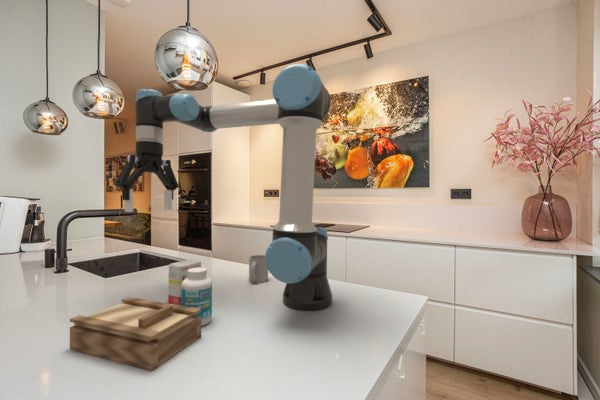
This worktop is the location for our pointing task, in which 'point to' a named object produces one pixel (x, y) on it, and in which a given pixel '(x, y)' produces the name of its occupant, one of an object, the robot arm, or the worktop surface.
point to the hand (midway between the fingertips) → (149, 210)
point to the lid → (140, 318)
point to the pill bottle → (198, 293)
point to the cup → (257, 269)
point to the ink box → (179, 279)
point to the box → (134, 349)
